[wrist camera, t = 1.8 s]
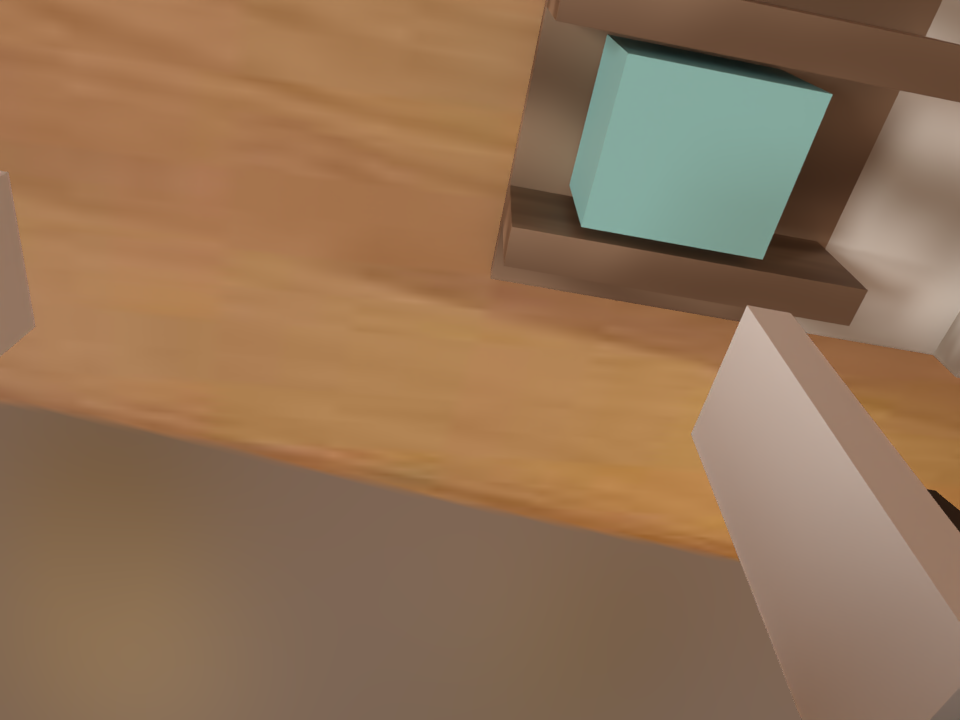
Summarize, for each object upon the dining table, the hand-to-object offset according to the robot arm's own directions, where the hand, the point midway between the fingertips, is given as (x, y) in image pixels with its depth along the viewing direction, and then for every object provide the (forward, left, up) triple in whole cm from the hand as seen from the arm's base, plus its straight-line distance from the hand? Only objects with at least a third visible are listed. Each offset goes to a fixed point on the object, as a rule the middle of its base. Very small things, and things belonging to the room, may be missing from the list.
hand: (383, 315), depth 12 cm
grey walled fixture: (0, +14, -20) cm, 25 cm away
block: (0, +9, -19) cm, 21 cm away
